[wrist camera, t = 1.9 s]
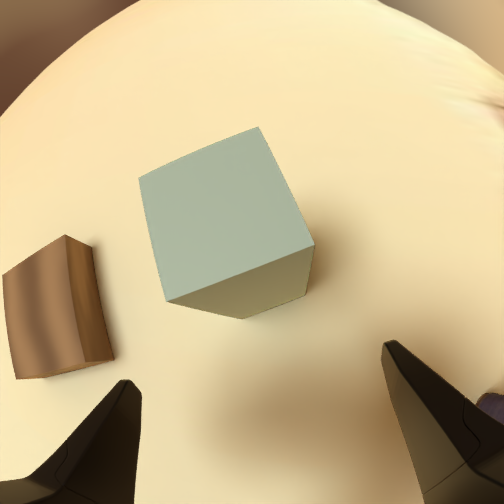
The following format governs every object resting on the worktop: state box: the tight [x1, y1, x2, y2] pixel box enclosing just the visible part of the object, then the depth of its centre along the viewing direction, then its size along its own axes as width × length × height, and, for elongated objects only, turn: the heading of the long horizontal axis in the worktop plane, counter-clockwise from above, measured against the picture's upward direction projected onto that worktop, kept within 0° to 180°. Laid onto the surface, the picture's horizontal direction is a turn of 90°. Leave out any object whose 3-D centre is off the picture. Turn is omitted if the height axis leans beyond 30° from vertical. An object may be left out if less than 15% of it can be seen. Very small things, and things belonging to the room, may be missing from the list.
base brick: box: [2, 235, 114, 379], centre depth 22 cm, size 11×11×4 cm
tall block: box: [139, 127, 315, 319], centre depth 16 cm, size 5×5×13 cm
